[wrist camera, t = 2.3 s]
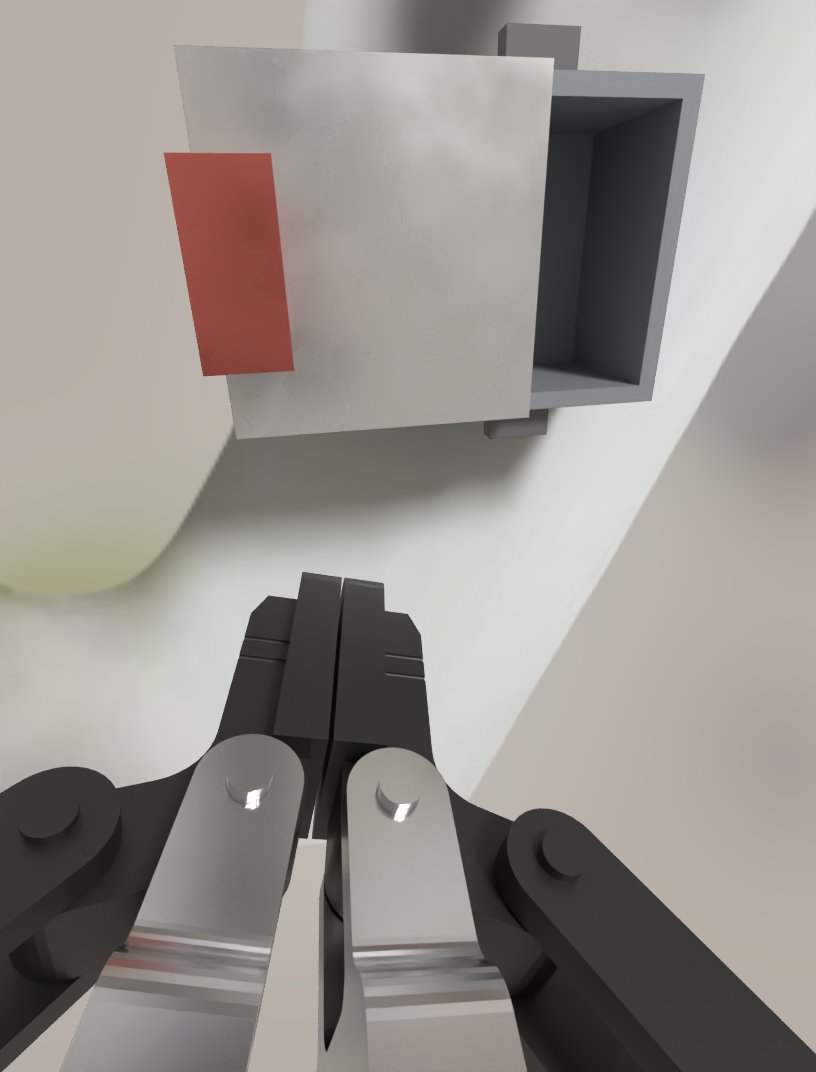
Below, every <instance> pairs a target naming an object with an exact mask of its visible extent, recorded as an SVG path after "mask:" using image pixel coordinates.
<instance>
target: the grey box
mask: <svg viewBox="0 0 816 1072" xmlns="http://www.w3.org/2000/svg"><path fill="white" fill-rule="evenodd" d="M580 32H581V26H563V25H540V24H517V23H507V24H506V25H505V26H504V27H503V28H502V29H501V30H500V31H499V32H498V56H510V57H539V58H554V70H553V84H552V98H551V112H550V126H549V140H548V155H547V169H546V183H545V197H544V211H543V225H542V240H541V254H540V268H539V282H538V296H537V310H536V325H535V339H534V353H533V367H532V381H531V395H530V410H529V417H527V418H514V419H501V420H487V421H484V434H485V435H486V436H487V437H489V438H490V439H494V438H507V437H519V436H531V435H544V434H546V431H547V420H548V408H559V407H573V406H586V405H600V404H614V403H627V402H641V401H651V400H652V394H653V388H654V382H655V376H656V370H657V364H658V358H659V351H660V345H661V339H662V333H663V327H664V321H665V315H666V309H667V303H668V296H669V290H670V284H671V278H672V272H673V266H674V260H675V254H676V248H677V241H678V235H679V229H680V223H681V217H682V211H683V205H684V199H685V193H686V186H687V180H688V174H689V168H690V162H691V156H692V150H693V144H694V138H695V132H696V125H697V119H698V113H699V107H700V101H701V95H702V89H703V83H704V77H705V74H685V73H651V72H618V71H585V70H577V67H578V56H579V44H580Z"/></svg>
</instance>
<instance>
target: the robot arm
mask: <svg viewBox="0 0 816 1072" xmlns="http://www.w3.org/2000/svg"><path fill="white" fill-rule="evenodd" d="M341 582H342V578H341V577H335V576H328V575H321V574H314V573H306V572H302V577H301V583H300V588H299V594H298V599H290V598H282V597H275V596H268V597H267V598H266V599H265V600H264V601H263V602H262V603H261V604H260V605H259V606H258V607H257V608H256V609H255V610H254V611H253V612H252V613H251V616H250V619H249V623H248V627H247V630H246V634H245V639H244V641H243V644H242V648H241V651H240V656H239V659H238V662H237V666H236V669H235V673H234V676H233V680H232V683H231V687H230V690H229V694H228V698H227V701H226V705H225V708H224V712H223V715H222V719H221V722H220V726H219V729H218V733H217V735H216V738H215V740H214V742H213V743H212V745H211V747H210V748H209V749H208V750H207V752H206V753H205V754H204V755H203V756H202V757H201V758H200V759H199V760H198V761H197V762H195V763H194V764H192V765H191V766H190V767H188V768H186V769H185V770H183V771H181V772H179V773H177V774H174V775H172V776H169V777H167V778H163V779H159V780H155V781H150V782H145V783H141V784H136V785H131V786H126V787H121V788H115V786H114V785H113V784H112V782H111V781H110V780H109V779H108V778H106V777H105V776H104V775H102V774H100V773H99V772H97V771H94V770H91V769H88V768H82V767H60V768H54V769H50V770H46V771H42V772H40V773H37V774H34V775H32V776H29V777H28V778H26V779H24V780H22V781H20V782H18V783H17V784H15V785H13V786H12V787H10V788H8V789H7V790H5V791H3V792H2V793H0V1072H2V1071H3V1070H4V1069H5V1068H6V1067H7V1066H8V1065H9V1064H10V1063H11V1062H13V1061H14V1060H15V1059H16V1058H17V1057H18V1056H19V1055H20V1054H21V1053H22V1052H23V1051H24V1050H25V1049H26V1048H27V1047H28V1046H29V1045H31V1044H32V1043H33V1042H34V1041H35V1040H36V1039H37V1038H38V1037H39V1036H40V1035H41V1034H42V1033H43V1032H44V1031H45V1030H47V1029H48V1028H49V1027H50V1026H51V1025H52V1024H53V1023H54V1022H55V1021H56V1020H57V1019H58V1018H59V1017H60V1016H61V1015H62V1014H63V1013H65V1012H66V1011H67V1010H68V1009H69V1008H70V1007H71V1006H72V1005H73V1004H74V1003H75V1002H76V1001H77V1000H78V999H79V998H81V997H82V996H83V995H84V994H85V993H86V992H87V991H88V990H89V989H90V988H91V987H92V986H93V985H94V984H95V983H96V984H95V987H94V989H93V991H92V993H91V996H90V998H89V1000H88V1003H87V1005H86V1008H85V1010H84V1013H83V1015H82V1017H81V1020H80V1022H79V1025H78V1027H77V1030H76V1032H75V1034H74V1037H73V1039H72V1042H71V1044H70V1047H69V1049H68V1051H67V1054H66V1057H65V1059H64V1061H63V1064H62V1067H61V1068H60V1071H59V1072H248V1067H249V1062H250V1056H251V1052H252V1047H253V1042H254V1036H255V1032H256V1027H257V1022H258V1017H259V1012H260V1007H261V1002H262V997H263V992H264V987H265V982H266V977H267V972H268V967H269V962H270V957H271V952H272V947H273V942H274V937H275V932H276V927H277V922H278V916H279V912H280V907H281V902H282V897H283V896H284V894H285V892H286V891H287V888H288V886H289V883H290V879H291V874H292V869H293V864H294V859H295V854H296V849H297V844H298V839H299V838H305V839H307V838H308V833H309V829H310V824H311V819H312V815H313V810H314V805H315V811H314V821H313V832H312V839H324V840H327V846H326V860H325V873H324V876H323V880H322V885H321V888H320V897H319V1006H318V1010H319V1011H318V1016H319V1017H318V1061H317V1072H816V1054H815V1053H814V1052H813V1051H812V1050H811V1049H810V1048H809V1047H808V1046H807V1045H806V1044H805V1043H804V1042H803V1041H802V1040H801V1039H800V1038H799V1037H798V1036H797V1035H796V1034H795V1033H794V1032H793V1031H792V1030H791V1029H790V1028H789V1027H788V1026H787V1025H786V1024H785V1023H784V1022H783V1021H781V1019H780V1018H779V1017H778V1016H777V1015H776V1014H775V1013H774V1012H773V1011H772V1010H771V1009H770V1008H769V1007H768V1006H766V1004H764V1002H762V1001H761V999H760V998H758V996H757V995H755V994H754V993H753V992H752V991H751V990H750V989H749V988H748V987H747V986H746V985H745V984H744V983H743V982H742V981H741V980H740V979H739V978H738V977H737V976H736V975H735V974H734V973H733V972H732V971H731V970H730V969H729V968H728V967H727V966H726V965H725V964H724V963H723V962H722V961H721V960H720V959H719V958H718V957H717V956H716V955H715V954H714V953H713V952H712V951H711V950H710V949H709V948H708V947H707V946H706V945H705V944H704V943H703V942H702V941H701V940H700V939H699V938H698V937H697V936H696V935H695V934H694V933H693V932H691V930H690V929H689V928H688V927H687V926H686V925H685V924H683V922H682V921H681V920H680V919H678V918H677V917H676V916H675V915H674V914H673V913H672V912H671V911H670V910H669V909H668V908H667V907H666V906H665V905H664V904H663V903H662V902H661V901H660V900H659V899H658V898H657V897H656V896H655V895H654V894H653V893H652V892H651V891H650V890H649V889H648V888H647V887H646V886H645V885H644V884H643V883H642V882H641V881H640V880H639V879H638V878H637V877H636V876H635V875H634V874H633V873H632V872H631V871H630V870H629V869H628V868H627V867H626V866H625V865H624V864H623V863H622V862H621V861H620V860H619V859H618V858H617V857H616V856H615V855H613V853H611V851H610V850H609V849H607V847H605V845H604V844H602V843H601V842H600V841H599V840H598V839H597V838H596V837H595V836H594V835H593V834H592V833H591V832H590V831H589V830H588V829H587V828H586V827H585V826H584V825H583V824H581V823H580V822H578V821H577V820H575V819H574V818H572V817H571V816H569V815H566V814H565V813H562V812H559V811H556V810H552V809H541V808H540V809H533V810H530V811H527V812H525V813H523V814H522V815H520V816H519V817H518V818H517V819H516V820H515V821H514V822H513V821H511V820H509V819H506V818H504V817H501V816H499V815H497V814H494V813H491V812H489V811H487V810H484V809H482V808H480V807H477V806H475V805H473V804H471V803H469V802H467V801H466V800H464V799H463V798H461V797H460V796H459V795H458V794H456V793H455V792H454V791H453V790H452V789H451V788H450V787H449V786H448V785H447V784H446V783H445V781H444V779H443V777H442V776H441V774H440V773H439V771H438V770H437V768H436V765H435V762H434V759H433V754H432V746H431V735H430V725H429V715H428V705H427V694H426V684H425V681H424V677H425V674H424V664H423V662H422V659H423V654H422V643H421V635H420V633H419V631H418V630H417V628H416V627H415V625H414V623H413V622H412V620H411V619H410V617H409V615H408V614H403V613H395V612H388V611H385V607H384V584H383V583H378V582H371V581H364V580H357V579H350V578H345V579H344V582H343V587H342V592H341ZM340 594H341V597H340Z"/></svg>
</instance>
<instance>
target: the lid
mask: <svg viewBox="0 0 816 1072" xmlns="http://www.w3.org/2000/svg"><path fill="white" fill-rule="evenodd" d="M174 51H175V57H176V63H177V69H178V76H179V82H180V88H181V95H182V101H183V107H184V114H185V120H186V126H187V132H188V139H189V145H190V151H191V153H164V156H165V162H166V168H167V173H168V179H169V185H170V190H171V196H172V202H173V207H174V213H175V219H176V224H177V230H178V235H179V241H180V247H181V253H182V258H183V264H184V270H185V275H186V281H187V286H188V292H189V298H190V303H191V309H192V315H193V320H194V326H195V331H196V337H197V343H198V349H199V354H200V359H201V366H202V371H203V376H215V375H226V377H227V383H228V390H229V395H230V402H231V408H232V415H233V421H234V427H235V433H236V439H249V438H262V437H276V436H289V435H302V434H315V433H329V432H342V431H355V430H368V429H382V428H395V427H408V426H421V425H435V424H448V423H461V422H474V421H487V420H501V419H514V418H527V417H529V410H530V395H531V381H532V367H533V353H534V339H535V325H536V310H537V296H538V282H539V268H540V254H541V240H542V225H543V211H544V197H545V183H546V169H547V155H548V140H549V126H550V112H551V98H552V84H553V70H554V58H539V57H510V56H480V55H450V54H421V53H391V52H361V51H332V50H302V49H272V48H243V47H213V46H183V45H174Z"/></svg>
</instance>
